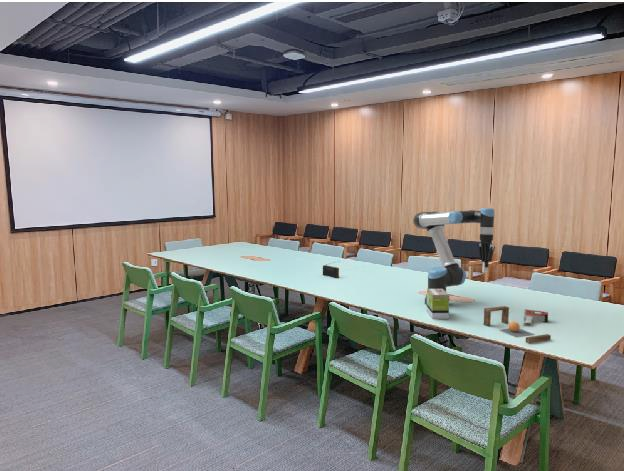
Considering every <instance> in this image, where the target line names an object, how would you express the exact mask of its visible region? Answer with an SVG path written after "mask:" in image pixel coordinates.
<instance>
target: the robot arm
mask: <svg viewBox="0 0 624 471" xmlns="http://www.w3.org/2000/svg"><path fill="white" fill-rule="evenodd" d="M494 220H495V209H494V208H492V207H481V208H480V210H475V209H470V210H469V209H468V210H453V211H448V212H447V211H446V212H445V211H444V212H440V211H420V212H418V213H416V214H415V215H414V216H413V220H412V221H413V224H414V226H415V227H416V228H418V229H420V230H424V229H425V230H426V232H427V233H428V234H429V235H431V239H432V242H433V244H434V247H435V249H436V251H437V255H438V256H439V257H438V258H439V260H440V263H441V266H438V267H437V266H436V267H431V268H429V270H428V272H427V289H443V290H445V291H446V292H447V288H448V287H455V286H456V287H458V286H461V285H463V284H464V283H465V282H466V279H467V273H466V270H465V269H464V268H463V267H460V265H459V263H458V262H456V260H455V258H454V255H453V253H452V250H451V248H450V245H449V242H448V240H447V237H446V234H445V232H444V229H445V225H454V224H455V225H458V224H473V223H475V224H479V226H480V227H479V233H480V234H479V240H480V243H477V244H476V246H477V249H478V250H477V251H478V258H479V259H478V260H480V261H481V270H482V271H481V273H484V274H485V273H488V269H489V263H490V262H492V261H493V260H492V259H493V255H494V251H495V249H496V246H494V245H493V243H492V241H493V240H494V230H495V229H494V224H495V223H494V222H495V221H494ZM424 304H425V305H427V294H426V295H425V298H424Z"/></svg>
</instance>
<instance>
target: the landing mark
mask: <svg viewBox="0 0 624 471" xmlns="http://www.w3.org/2000/svg"><path fill="white" fill-rule="evenodd" d="M499 331H500V332H502V333H505V334H508V335H510V336H512V337H514V338H522V337H530V336H535V333H533V332H529V331H527V330H524V329H522V328H520V329H519V330H518V331H517V332H512V331H511V330H510V329H509V327H508V328H501V329H499Z"/></svg>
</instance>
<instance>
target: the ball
mask: <svg viewBox="0 0 624 471" xmlns="http://www.w3.org/2000/svg"><path fill="white" fill-rule="evenodd" d="M520 327H521V326H520V323H518V322H517V321H510V322H508V328H509V329H510V330H511V331H512V332H517V331H518V330H519V329H521V328H520Z"/></svg>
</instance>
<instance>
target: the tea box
mask: <svg viewBox="0 0 624 471" xmlns="http://www.w3.org/2000/svg"><path fill="white" fill-rule="evenodd" d="M426 295H427V304H426V312H427V314H428V315H429V317H430V318H431V319H432V320H449V319H450V294H449V293H448V292H447V290H446V291H445V290H443V289H428V288H426Z"/></svg>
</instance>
